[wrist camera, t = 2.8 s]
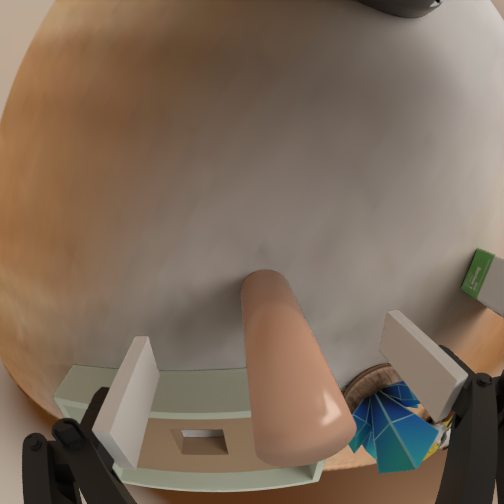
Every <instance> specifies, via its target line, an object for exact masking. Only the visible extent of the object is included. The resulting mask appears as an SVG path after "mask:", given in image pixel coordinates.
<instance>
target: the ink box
mask: <svg viewBox="0 0 504 504" xmlns="http://www.w3.org/2000/svg"><path fill="white" fill-rule="evenodd" d="M461 289H462V290H463V291H464V292H466V293H467V294H469V295H470V296H472V297H473V298H475V299H476V300H478V301H479V302H481V303H482V304H484V305H485V306H486V307H488V308H489V309H491V310H492V311H494V312H495V313H497V314H498V315H500V316H501V317H503V318H504V259H503V258H501V257H499V256H496V255H494V254H492V253H489V252H487V251H484V250H482V249H477V251H476V254H475V256H474V259H473V261H472V263H471V266H470V268H469V270H468V273H467V275H466V278H465V280H464V282H463V285H462V287H461Z"/></svg>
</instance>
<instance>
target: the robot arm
mask: <svg viewBox="0 0 504 504" xmlns="http://www.w3.org/2000/svg"><path fill="white" fill-rule="evenodd" d="M358 1H360V2H362V3H364V4H366V5H369V6H371V7H373V8H376V9H378V10H381V11H383V12H386V13H390V14H393V15H397V16H401V17H409V18H416V17H422V16H424V15H426V14H428V13H429V12H431V11H433V10H434V9H436V8H437V7H439V6H440V5H441V3H442V2H443V0H358ZM380 352H381V353H382V354H383V355H384V357H385V358H386V359H387V360H388V362H389V363H390V364H391V365H392V367H393V368H394V369H395V370H396V372H397V373H398V374H399V376H400V377H401V378H402V379H403V381H404V382H405V383H406V384H407V386H408V387H409V388H410V390H411V391H412V392H413V394H414V395H415V396H416V397H417V399H418V400H419V401H420V403H421V404H422V405H423V407H424V408H425V409H426V411H427V412H428V413H429V415H430V416H431V417H432V419H433V420H434V421H435V423H436V422H438V421H440V420H442V419H444V418H446V417H447V416H448V414H449V412H450V410H451V409H453V411H454V412H455V413H454V414H453V416H452V418H451V420H450V421H449V423H448V425H447V428H448V427H449V426H450V424H451V423H452V425H451V433H450V440H449V446H448V452H447V458H446V463H445V467H444V472H443V477H442V480H441V485H440V489H439V492H438V495H437V499H436V502H435V504H492V501H493V494H494V488H495V479H496V484H497V496H498V504H504V370H503V372H502V374H501V376H498V377H494V378H492V377H491V376H490V375H488V374H486V373H477V374H475V373H474V372H473V371H472V370H471V369H470V368H469V367H468V366H467V365H466V364H465V363H464V362H463V361H461V360H459V358H458V357H457V356H456V355H454V353H453V352H452V351H451V350H450V349H448V348H446V347H444V346H442V345H439V346H438V345H437V344H436V343H435V342H434V341H432V340H431V339H430V338H429V337H428V336H427V335H426V334H425V333H424V332H423V331H421V330H420V329H419V328H418V327H417V326H416V325H415V324H414V323H412V322H411V321H410V320H409V319H408V318H407V317H406V316H405V315H403V314H402V313H401V312H400V311H399V310H398V309H397V310H392V311H387V314H386V320H385V326H384V331H383V336H382V341H381V346H380ZM159 377H160V374H159V371H158V368H157V364H156V361H155V358H154V354H153V351H152V347H151V344H150V340H149V337H148V336H135V338H134V340H133V342H132V344H131V346H130V348H129V350H128V352H127V354H126V356H125V358H124V360H123V362H122V364H121V366H120V368H119V370H118V372H117V374H116V376H115V379H114V381H113V383H112V385H111V387H101V388H100V389H99V390H98V391H97V392H95V394H94V396H93V398H92V400H91V403H90V404H89V406H88V409H87V410H86V412H85V414H84V416H83V418H82V420H81V423H80V424H79V423H78V421H77V420H75V419H73V418H63V419H60V420H59V421H57V422H56V423H55V424H54V425H53V428H52V435H53V437H54V438H55V439H56V441H47V439H46V438H45V437H44V436H43V435H42V434H40V433H32V434H30V435H28V436H27V437H26V438H25V439H24V442H23V450H22V451H23V452H22V479H23V496H24V504H82V501H81V497H80V492H79V488H80V491H81V493H82V494H83V496H84V498H85V500H86V502H87V504H137V503H136V502H135V500H134V499H133V497H132V496H131V495H130V493H129V492H128V490H127V489H126V487H125V486H124V484H123V483H122V481H121V480H120V478H119V477H118V475H117V473H116V472H115V470H114V469H113V464H114V461H115V463H116V464H117V465H118V466H119V467H120V468H125V469H131V470H136V468H137V463H138V459H139V454H140V450H141V446H142V442H143V438H144V434H145V430H146V426H147V422H148V418H149V414H150V410H151V406H152V403H153V399H154V395H155V392H156V388H157V384H158V381H159ZM78 486H79V487H78Z"/></svg>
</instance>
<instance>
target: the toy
mask: <svg viewBox="0 0 504 504" xmlns="http://www.w3.org/2000/svg"><path fill="white" fill-rule="evenodd" d="M454 413H455V412H454V411H453V409H451V410H450V412H449V414H448V416H447V417H446V418H444V419H442V420H440V421H438V422H436V423H435V421H434V420H433V422H432V423H429V424H430V425H431V426H433V427H434V428H435V429H437V430H438V431H440V432H439V433H438V435H437V437H436V439H435V441H434V442H433V444H432V446H431V448H430V449H429V451H428V453H427V454H426V456H425V458H424V459H423V461H424V460H425V459H427V458H428V457H429V456H430V455H432V454H433V453H434V452H435V451H436V450H437V449H438V448H439V447H440V446H441V445H442V444H443V443H444V441H445V440H446V438H447V435H446V432H447V431H448V430H449V428H451V425H452V423H451V424H450V426H449V427H448V428H447V425H448V423H449V421H450V420H451V418H452V416H453V414H454Z"/></svg>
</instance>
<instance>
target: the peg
mask: <svg viewBox="0 0 504 504" xmlns="http://www.w3.org/2000/svg"><path fill="white" fill-rule="evenodd" d="M240 296H241V308H242V320H243V332H244V343H245V354H246V365H247V376H248V386H249V396H250V407H251V417H252V426H253V436H254V445H255V453H256V455H257V457H258V458H259V459H260V460H261V461H263V462H265V463H267V464H270V465H273V466H279V467H298V466H304V465H309V464H313V463H316V462H319V461H322V460H324V459H327V458H329V457H331V456H333V455H334V454H336V453H338V452H339V451H341V450H342V449H343V448H344V447H346V446H347V445H348V444H349V443H350V441H351V440H352V439H353V437H354V435H355V433H356V423H355V421H354V419H353V416H352V414H351V412H350V410H349V408H348V406H347V404H346V401H345V399H344V397H343V395H342V393H341V391H340V389H339V387H338V385H337V382H336V380H335V378H334V376H333V374H332V372H331V370H330V368H329V366H328V364H327V362H326V359H325V357H324V355H323V353H322V351H321V349H320V347H319V345H318V343H317V341H316V339H315V337H314V335H313V333H312V331H311V329H310V327H309V325H308V322H307V320H306V318H305V316H304V314H303V312H302V310H301V308H300V306H299V304H298V302H297V300H296V298H295V296H294V294H293V292H292V290H291V288H290V286H289V284H288V282H287V280H286V279H285V278H284V277H283V276H282V275H281V274H280V273H278V272H276V271H273V270H259V271H256V272H254V273H252V274H251V275H249V276H248V277H247V278H246V279H245V280H244V282H243V284H242V286H241V291H240Z"/></svg>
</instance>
